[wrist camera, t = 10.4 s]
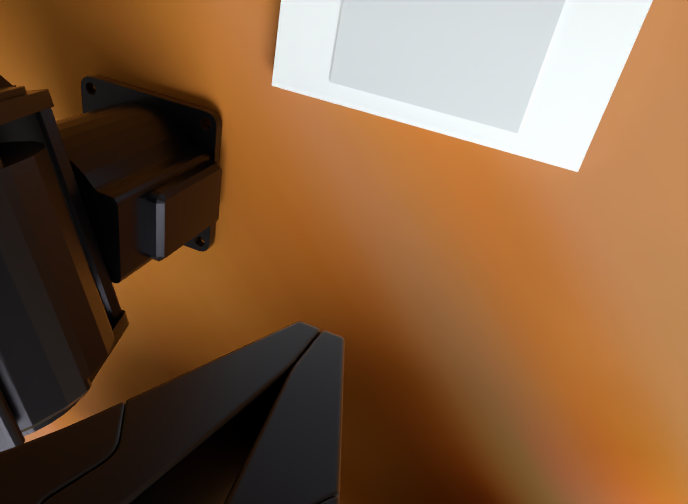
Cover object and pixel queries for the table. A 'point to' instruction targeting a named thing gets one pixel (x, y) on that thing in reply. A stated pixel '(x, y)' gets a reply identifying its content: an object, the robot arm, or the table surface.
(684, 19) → the table surface
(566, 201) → the table surface
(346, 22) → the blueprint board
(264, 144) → the table surface
